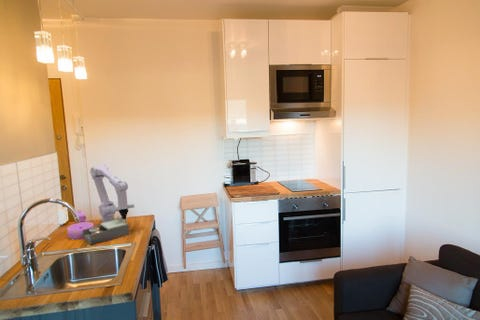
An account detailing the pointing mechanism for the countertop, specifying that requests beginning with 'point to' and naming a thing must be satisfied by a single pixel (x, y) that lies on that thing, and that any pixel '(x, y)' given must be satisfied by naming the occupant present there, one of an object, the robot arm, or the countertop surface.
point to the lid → (114, 223)
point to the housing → (103, 234)
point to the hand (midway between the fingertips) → (124, 220)
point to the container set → (79, 227)
